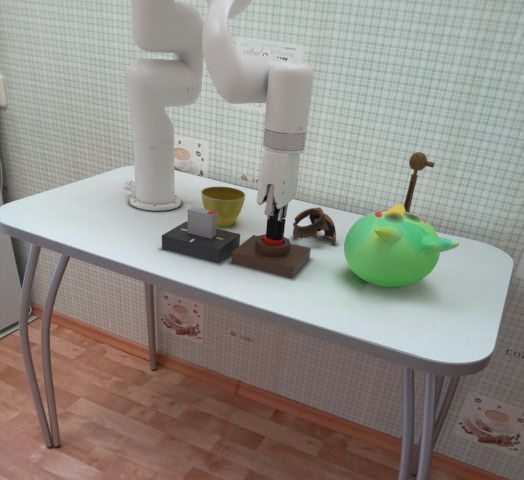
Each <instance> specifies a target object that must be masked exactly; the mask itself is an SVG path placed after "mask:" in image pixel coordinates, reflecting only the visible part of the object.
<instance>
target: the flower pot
mask: <svg viewBox="0 0 524 480" xmlns="http://www.w3.org/2000/svg"><path fill="white" fill-rule="evenodd" d="M200 194H201V201H202V205H203V209H206V210H214V211H216V212H217V222H216V227H220V228H227V227H228V228H229V227H231V226H232V225H234V224H235V222H236V221H237V219H238V217H239V215H240V214H241V212H242V209H243V206H244V203H245V199H246V193H245V192H244V190H241V189H239V188H238V189H237V188H235V187H230V186H221V185H219V186H209V187H208V186H207V187H205V188H203V189H202V190H201V191H200Z"/></svg>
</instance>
